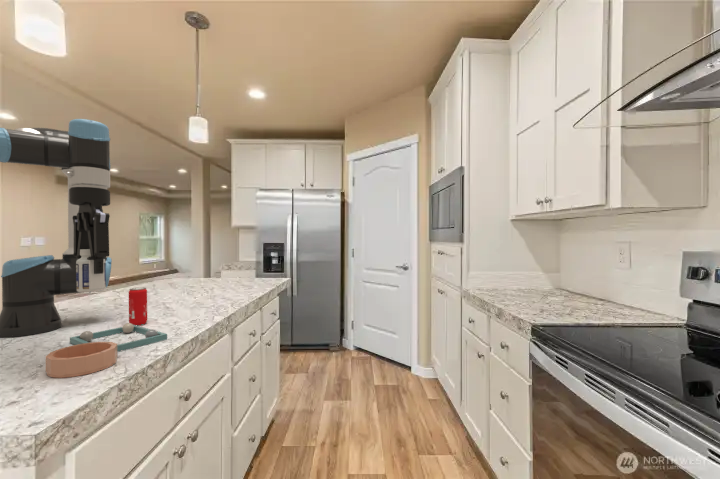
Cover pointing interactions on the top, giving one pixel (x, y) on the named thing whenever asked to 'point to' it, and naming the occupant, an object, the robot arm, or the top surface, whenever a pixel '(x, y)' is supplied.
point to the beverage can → (137, 306)
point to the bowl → (81, 359)
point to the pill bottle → (85, 272)
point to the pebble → (128, 328)
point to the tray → (128, 345)
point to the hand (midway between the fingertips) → (91, 287)
